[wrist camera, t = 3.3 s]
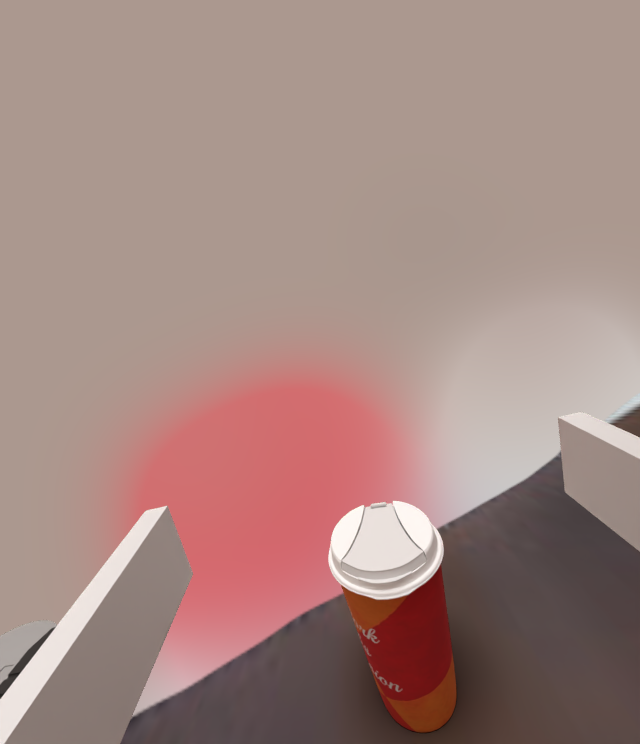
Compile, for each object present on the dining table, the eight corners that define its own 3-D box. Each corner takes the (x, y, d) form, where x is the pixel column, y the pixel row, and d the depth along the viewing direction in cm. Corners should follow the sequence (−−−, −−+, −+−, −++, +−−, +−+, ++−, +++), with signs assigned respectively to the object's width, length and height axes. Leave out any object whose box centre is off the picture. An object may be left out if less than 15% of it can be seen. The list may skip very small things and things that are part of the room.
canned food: (91, 828, 24) (19, 707, 21) (-41, 886, 22) (-132, 765, 20) (128, 703, 31) (79, 603, 28) (31, 742, 30) (-29, 641, 27)
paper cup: (367, 641, 31) (329, 503, 28) (457, 634, 30) (428, 489, 27) (368, 757, 24) (316, 587, 20) (489, 755, 22) (453, 573, 19)
